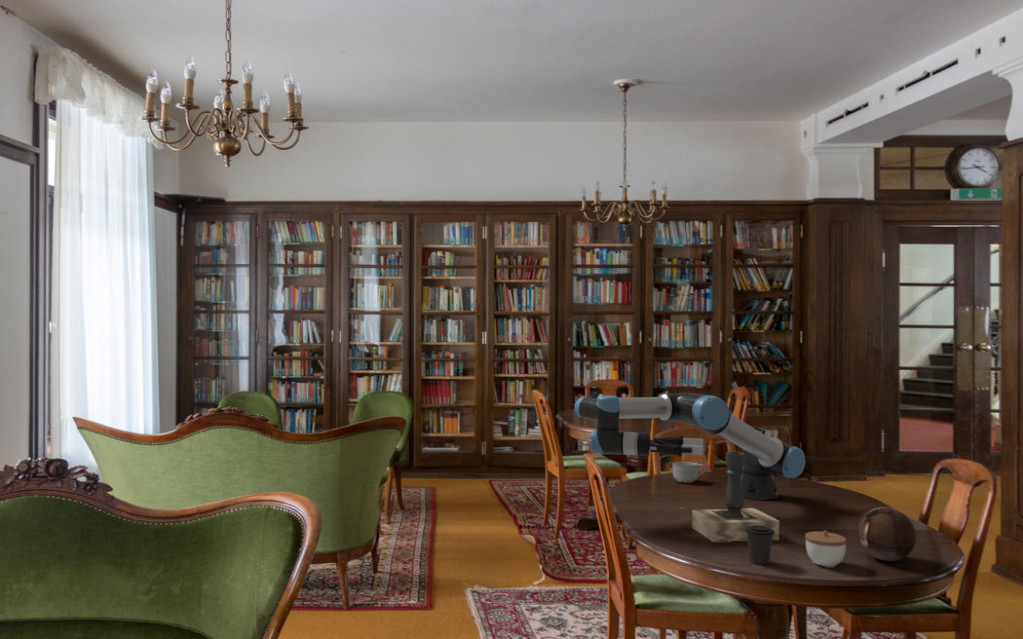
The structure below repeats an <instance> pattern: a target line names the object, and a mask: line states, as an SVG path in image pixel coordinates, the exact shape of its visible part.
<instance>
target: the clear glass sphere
mask: <svg viewBox="0 0 1023 639" xmlns="http://www.w3.org/2000/svg"><path fill="white" fill-rule="evenodd" d="M857 536H858V540H859V542H860V544H861V546H862V547H863V549H864V550H865V551H866V552H867V553H868V554H870V555H871V556H872V557H874V558H876V559H878V560H880V561H886V562H897V561H899V560H903V559H905V558H906V557H908V555H910V554H911V552H913V549H914V548H915V546H916V542H917V541H916V540H917V534H916V530H915V526H914V525H913V523H912V522H911V520H910V519H909V518H908V517H907V515H906V514H904V513H903V512H901V511H899V510H898V509H894V508H891V507H888V506H887V507H886V506H882V507H881V506H880V507H875V508H872V509H870V510H868V511H866V512H865V513H864V514H863V516H861V518H860V520H859V521H858V526H857Z"/></svg>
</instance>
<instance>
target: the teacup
mask: <svg viewBox="0 0 1023 639" xmlns="http://www.w3.org/2000/svg"><path fill="white" fill-rule="evenodd" d="M700 467H702V471H700V472H699V469H700ZM705 472H706V465H704V464H702V463H697V462H691V461H690V462H688V461H678V462H677V461H676V462H672V475H673V478H674V479H675V481H676V482H678V483H682V482H684V484H686V483H687V484H690V483H694V482H695V481H696V480H697V479H699V477H700V476H702V475H703V474H704V473H705Z"/></svg>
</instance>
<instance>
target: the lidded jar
mask: <svg viewBox="0 0 1023 639" xmlns="http://www.w3.org/2000/svg"><path fill="white" fill-rule="evenodd" d="M804 536H805V537H804V538H805V550H806V553H807V555H808V557H809V558H810V560H811V561H812V562H813V564H814V563H816V564H818V565H822V566H836V565H837V566H838V565H839V564H840V563H841V562H842V561H843V559H844V558H845V555H846V548H847V545H846V544H847V538H846V537H844V536H843V535H841V534H838V533H834V532H828V530H823V531H809V532H806V533H805V535H804ZM816 564H815V565H816ZM818 565H817V566H818ZM822 566H821V567H822ZM837 566H836V567H837Z"/></svg>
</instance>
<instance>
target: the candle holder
mask: <svg viewBox="0 0 1023 639" xmlns="http://www.w3.org/2000/svg"><path fill="white" fill-rule="evenodd" d="M725 463H726V466H727V469H728V470H726V474H727V476H728V484H727V485H728V486H727V489H726V493H725V498H724V504H725V507H726V509H727V510H728V512H727V513H726V514H725V517H727V518H728V519H730V518H743V515H742V513H741V509H742V508H744V506H745V497H743V493H742V489H741V477H742V475H743V472H742V467H743V464H744V453H742V452H740V451H726V452H725Z"/></svg>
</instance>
